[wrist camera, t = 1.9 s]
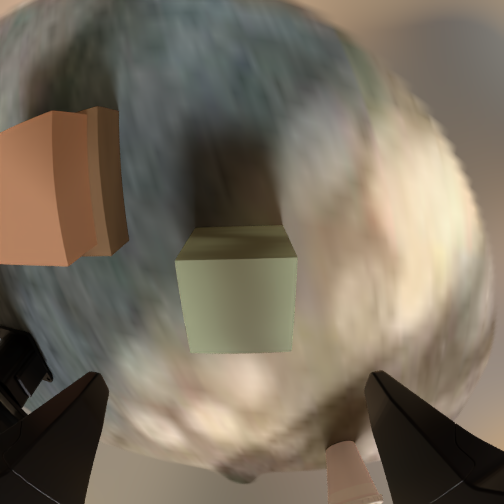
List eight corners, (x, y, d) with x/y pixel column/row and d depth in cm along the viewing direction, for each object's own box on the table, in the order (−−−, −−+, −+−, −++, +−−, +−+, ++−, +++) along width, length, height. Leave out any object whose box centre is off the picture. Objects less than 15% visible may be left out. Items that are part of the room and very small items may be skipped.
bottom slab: (44, 242, 16) (20, 257, 13) (32, 138, 13) (4, 140, 10) (131, 238, 16) (111, 255, 13) (121, 111, 13) (97, 106, 10)
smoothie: (332, 435, 24) (355, 541, 11) (374, 434, 25) (404, 525, 12) (305, 458, 26) (319, 551, 13) (347, 457, 27) (366, 540, 14)
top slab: (20, 245, 13) (-9, 263, 10) (7, 141, 10) (-25, 146, 8) (97, 244, 13) (68, 266, 10) (87, 114, 11) (52, 110, 8)
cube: (203, 302, 17) (190, 353, 13) (195, 227, 16) (174, 260, 11) (280, 300, 17) (291, 351, 13) (282, 224, 16) (297, 257, 11)
